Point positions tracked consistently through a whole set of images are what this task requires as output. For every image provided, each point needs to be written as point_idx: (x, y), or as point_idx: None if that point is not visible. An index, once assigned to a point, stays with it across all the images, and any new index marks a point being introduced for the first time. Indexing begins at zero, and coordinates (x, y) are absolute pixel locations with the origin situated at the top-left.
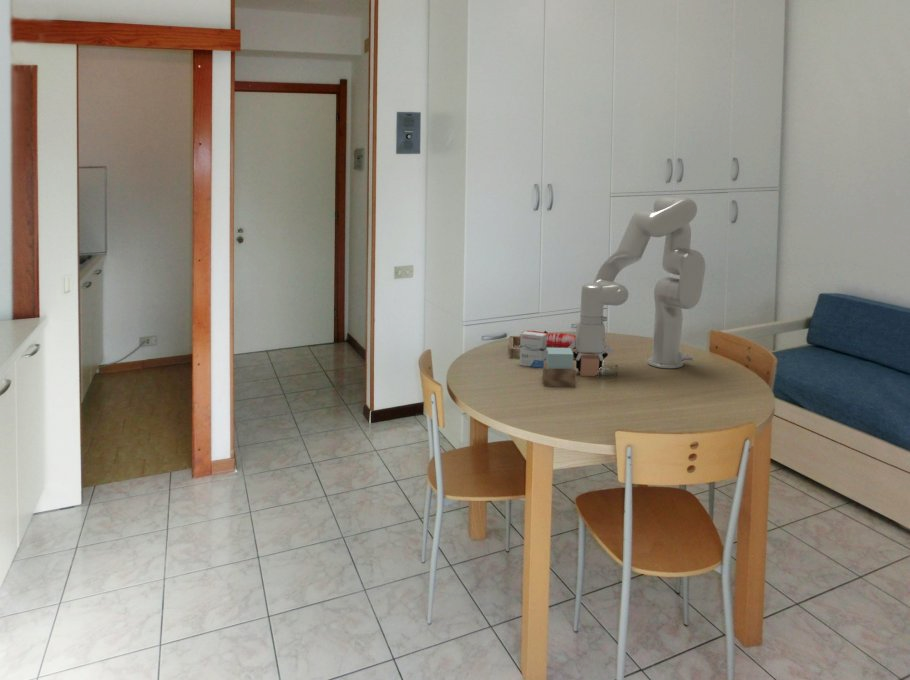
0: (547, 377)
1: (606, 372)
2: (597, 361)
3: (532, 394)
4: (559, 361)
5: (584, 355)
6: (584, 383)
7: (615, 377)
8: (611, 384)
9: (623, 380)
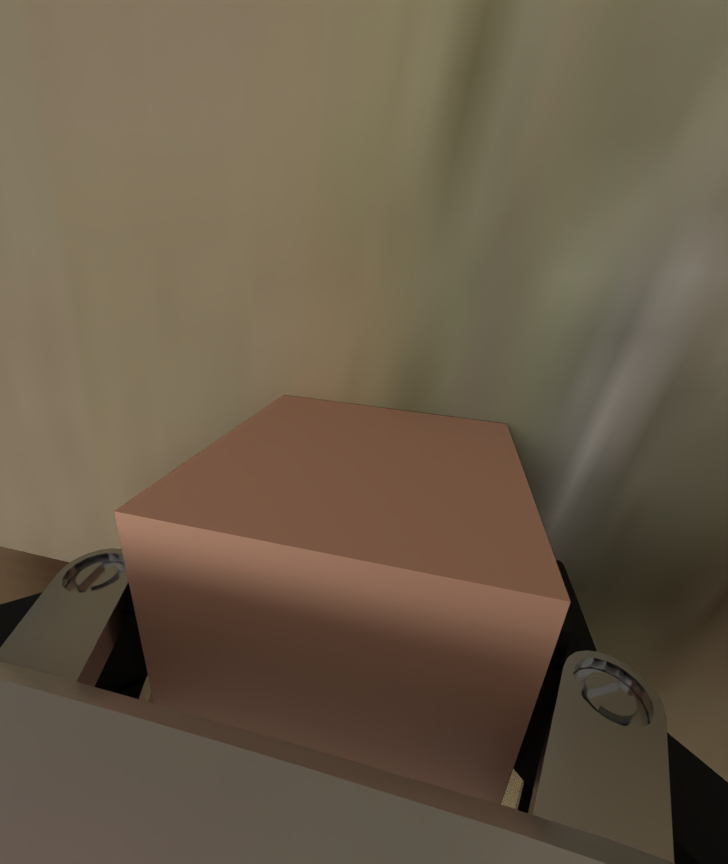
0: None
1: (637, 485)
2: None
3: None
4: None
5: (217, 607)
6: None
7: (660, 664)
8: (516, 795)
9: (702, 752)
